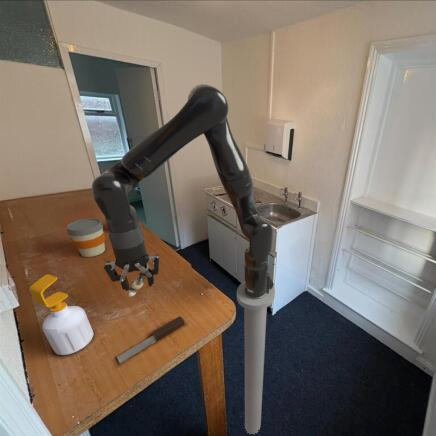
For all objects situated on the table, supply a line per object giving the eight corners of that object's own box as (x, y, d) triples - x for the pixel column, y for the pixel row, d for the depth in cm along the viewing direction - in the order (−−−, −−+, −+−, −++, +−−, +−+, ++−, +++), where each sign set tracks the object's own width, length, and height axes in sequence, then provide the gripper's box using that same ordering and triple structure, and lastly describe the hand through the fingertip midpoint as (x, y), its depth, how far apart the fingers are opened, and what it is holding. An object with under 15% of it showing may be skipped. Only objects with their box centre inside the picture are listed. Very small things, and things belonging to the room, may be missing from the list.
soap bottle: (101, 334, 74) (76, 273, 64) (69, 360, 66) (35, 295, 56) (80, 325, 76) (53, 265, 66) (46, 350, 68) (10, 285, 58)
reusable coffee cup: (69, 259, 105) (58, 231, 98) (86, 245, 116) (76, 218, 110) (101, 258, 108) (92, 230, 101) (114, 244, 119) (106, 217, 112)
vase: (150, 282, 77) (146, 268, 74) (150, 293, 73) (146, 278, 70) (130, 287, 74) (126, 272, 72) (129, 298, 70) (125, 283, 68)
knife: (180, 319, 81) (180, 315, 80) (184, 324, 80) (184, 320, 79) (116, 357, 68) (115, 353, 67) (119, 364, 66) (118, 359, 66)
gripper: (92, 252, 60) (108, 300, 67) (155, 244, 66) (164, 289, 73) (100, 237, 66) (114, 283, 73) (157, 231, 72) (165, 274, 79)
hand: (139, 286), depth 73 cm, fingers closed on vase, 5 cm apart
